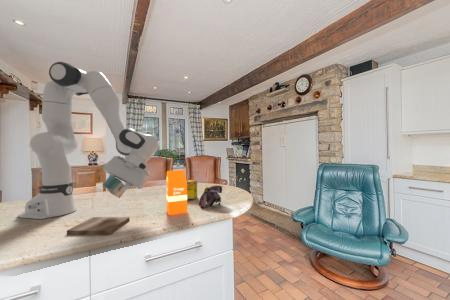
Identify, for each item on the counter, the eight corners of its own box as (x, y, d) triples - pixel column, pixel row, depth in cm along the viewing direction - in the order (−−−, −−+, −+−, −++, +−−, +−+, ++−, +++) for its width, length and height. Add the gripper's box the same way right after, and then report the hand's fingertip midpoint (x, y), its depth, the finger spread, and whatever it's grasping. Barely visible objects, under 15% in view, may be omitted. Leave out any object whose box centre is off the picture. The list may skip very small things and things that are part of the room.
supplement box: (194, 200, 120) (193, 181, 120) (184, 199, 121) (184, 181, 121) (197, 197, 126) (197, 179, 126) (188, 197, 127) (188, 179, 127)
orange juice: (166, 210, 102) (165, 170, 101) (184, 208, 105) (183, 169, 105) (168, 215, 94) (167, 171, 94) (187, 212, 98) (186, 170, 98)
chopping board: (66, 234, 75) (66, 230, 75) (93, 220, 89) (93, 217, 89) (109, 234, 74) (109, 230, 74) (129, 220, 88) (129, 217, 88)
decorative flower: (198, 184, 116) (223, 177, 113) (206, 202, 119) (230, 195, 116) (191, 198, 102) (219, 190, 99) (200, 217, 105) (227, 210, 102)
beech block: (110, 193, 94) (102, 184, 86) (118, 184, 97) (110, 175, 89) (119, 198, 94) (111, 189, 85) (127, 188, 96) (120, 180, 88)
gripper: (113, 151, 96) (91, 174, 89) (150, 169, 94) (130, 195, 86) (118, 157, 102) (97, 180, 94) (153, 175, 99) (134, 200, 91)
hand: (113, 187), depth 90 cm, fingers closed on beech block, 5 cm apart
